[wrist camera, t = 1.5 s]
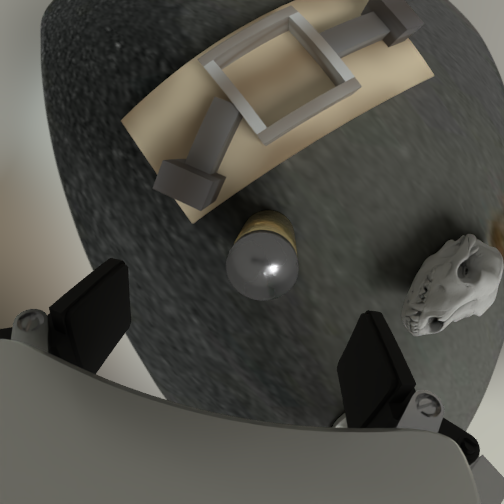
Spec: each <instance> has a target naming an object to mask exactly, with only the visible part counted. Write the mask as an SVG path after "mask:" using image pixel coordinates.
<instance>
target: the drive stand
mask: <svg viewBox="0 0 504 504" xmlns="http://www.w3.org/2000/svg"><path fill="white" fill-rule="evenodd" d="M423 25H424V22H423V21H422V20H421V19H420V17H419V16H418V15H417V14H416V13H415V12H414V10H413V9H412V8H411V7H410V6H409V5H408V4H407V2H406V1H405V0H295V1H292V2H290V3H288V4H285V5H283V6H281V7H279V8H277V9H275V10H273V11H271V12H269V13H267V14H265V15H263V16H261V17H259V18H257V19H255V20H253V21H251V22H250V23H248V24H246V25H244V26H243V27H241V28H239V29H237V30H236V31H234V32H232V33H231V34H229V35H227V36H226V37H224V38H223V39H221V40H220V41H218V42H216V43H215V44H213V45H212V46H210V47H209V48H207V49H206V50H204V51H203V52H202V53H200V54H199V55H197V56H196V57H195V58H193V59H192V60H190V61H189V62H188V63H186V64H185V65H184V66H182V67H181V68H180V69H179V70H177V71H176V72H175V73H173V74H172V75H171V76H170V77H168V78H167V79H166V80H165V81H164V82H162V83H161V84H160V85H159V86H158V87H156V88H155V89H154V90H153V91H152V92H151V93H150V94H148V95H147V96H146V97H145V98H144V99H143V100H142V101H141V102H140V103H139V104H137V105H136V106H135V107H134V108H133V109H132V110H131V111H130V112H129V113H128V114H127V115H126V116H125V117H124V118H123V119H122V120H121V122H122V123H123V125H124V126H125V128H126V129H127V131H128V132H129V134H130V135H131V137H132V138H133V140H134V141H135V143H136V144H137V146H138V147H139V148H140V150H141V151H142V153H143V154H144V156H145V157H146V159H147V160H148V162H149V163H150V165H151V166H152V167H153V169H154V170H155V172H156V173H157V177H156V180H155V183H154V186H153V188H152V189H154V190H157V191H159V192H161V193H163V194H165V195H167V196H169V197H172V198H174V199H175V200H176V202H177V203H178V204H179V206H180V207H181V209H182V210H183V211H184V213H185V214H186V216H187V217H188V218H189V220H190V221H191V222H192V224H193V223H195V222H196V221H197V220H199V219H200V218H201V217H203V216H204V215H206V214H207V213H208V212H210V211H211V210H213V209H214V208H215V207H217V206H218V205H220V204H221V203H222V202H224V201H225V200H227V199H228V198H229V197H231V196H232V195H234V194H235V193H237V192H238V191H240V190H241V189H242V188H244V187H245V186H247V185H248V184H250V183H251V182H253V181H254V180H256V179H257V178H259V177H260V176H262V175H263V174H265V173H266V172H268V171H269V170H271V169H272V168H274V167H275V166H277V165H278V164H280V163H281V162H283V161H285V160H286V159H288V158H289V157H291V156H292V155H294V154H296V153H297V152H299V151H300V150H302V149H303V148H305V147H307V146H308V145H310V144H312V143H313V142H315V141H316V140H318V139H320V138H321V137H323V136H325V135H326V134H328V133H330V132H331V131H333V130H335V129H336V128H338V127H340V126H341V125H343V124H345V123H347V122H348V121H350V120H352V119H354V118H355V117H357V116H359V115H361V114H362V113H364V112H366V111H368V110H369V109H371V108H373V107H375V106H377V105H379V104H380V103H382V102H384V101H386V100H388V99H390V98H392V97H393V96H395V95H397V94H399V93H401V92H403V91H405V90H407V89H409V88H411V87H413V86H415V85H417V84H419V83H421V82H423V81H425V80H427V79H429V78H431V77H433V76H434V74H433V73H432V71H431V69H430V68H429V66H428V65H427V63H426V62H425V60H424V59H423V58H422V56H421V55H420V53H419V52H418V50H417V49H416V48H415V46H414V45H413V44H412V42H411V41H410V40H409V37H410V36H411V35H412V34H413V33H415V32H416V31H417V30H418V29H419V28H420V27H422V26H423Z"/></svg>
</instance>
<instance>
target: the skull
mask: <svg viewBox="0 0 504 504" xmlns="http://www.w3.org/2000/svg"><path fill="white" fill-rule="evenodd" d="M462 262H463V265H461V266H460V264H461V263H462ZM503 268H504V265H503V258H502V255H501V254H500V252H499V251H498V250H497V249H496V248H495V247H490V246H488V245H486V244H485V243H483V242H481V241H480V240H478V239H476V237H475V236H474V235H473V234H467V235H466V237H465V235H463V236H461V237H460V238H459V239H458V240H457V241H454V240H448V241H447V242H446V243H445V244H444V246H443V247H442V248H441V249H440V250H439V251H438V252H437V253H435V254H433V255H431V256H429V257H428V258H427V259H426V260H425V261H424V262H423V264H422V266H421V268H420V270H419V271H418V273H417V274H416V276H415V278H414V280H413V283H412V285H411V287H410V289H409V291H408V293H407V296H406V298H405V301H404V304H403V307H402V313H401V319H402V322H403V324H404V325H405V327H406V328H407V329H408V331H409V332H410V333H412V334H413V336H420V335H424V334H434V333H437V332H440V331H442V330H443V329H444V328H445V327H446V326H447V325H448V324H449V323H451V322H452V321H455V322H456V321H458V320H460V319H462V318H464V317H469V316H471V315H473V314H476V315H478V316H481V315H482V314H483V313H484V312H485V311H486V310H487V309H488V308H489V307H490V306H491V305H492V303H493V302H494V300H495V298H496V295H497V291H498V286H499V283H500V280H501V277H502V272H503ZM425 288H427V290H428V291H427V293H426V294H424V295H423V296H424V297H423V298H421V297H420V296H421V295H422V294H423V293H425V290H424V289H425ZM415 321H416V322H415Z"/></svg>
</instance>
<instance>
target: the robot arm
mask: <svg viewBox="0 0 504 504" xmlns="http://www.w3.org/2000/svg"><path fill="white" fill-rule="evenodd" d="M49 310H50V314H48V315H46V313H45V312H43V311H41V310H38V309H30V310H26V311H23V312H21V313H20V314H19V315H17V317H16V318H15V320H14V323H13V327H11V328H5V329H0V504H501V502H502V501H503V499H504V477H503V476H502V475H501V474H500V473H499V472H498V471H497V470H496V469H495V468H494V466H492V464H491V463H490V462H489V461H488V460H487V459H486V458H485V457H484V456H483V455H482V456H480V457H479V452H480V449H479V444H478V442H477V440H476V439H475V438H474V437H473V436H472V435H470V434H469V433H467V432H465V431H464V430H462V429H461V428H459V427H457V426H456V425H454V424H453V423H451V422H449V421H448V420H446V419H445V418H443V416H444V410H445V409H444V404H443V403H442V401H441V399H440V398H439V397H438V396H437V395H435V394H434V393H432V392H430V391H427V390H419V391H417V392H416V391H415V389H414V387H415V385H416V383H415V380H414V378H413V376H412V374H411V371H410V369H409V367H408V365H407V363H406V361H405V359H404V356H403V354H402V352H401V350H400V348H399V346H398V344H397V342H396V340H395V338H394V336H393V334H392V332H391V330H390V328H389V326H388V324H387V322H386V320H385V319H384V317H383V315H382V313H381V312H376V311H369V310H368V311H366V312H365V313H362V314H361V316H360V318H359V320H358V322H357V324H356V327H355V329H354V331H353V333H352V335H351V338H350V340H349V342H348V344H347V346H346V348H345V350H344V352H343V354H342V356H341V358H340V360H339V362H338V366H337V372H338V377H339V382H340V387H341V393H342V398H343V404H344V409H345V413H344V414H343V415H342V416H341V417H339V418H338V419H337V420H336V422H335V423H334V424H333V426H332V428H331V427H312V426H299V425H289V424H280V423H272V422H265V421H258V420H251V419H245V418H240V417H234V416H229V415H224V414H219V413H214V412H210V411H206V410H201V409H197V408H193V407H189V406H186V405H182V404H178V403H175V402H171V401H168V400H165V399H161V398H158V397H155V396H151V395H149V394H146V393H142V392H140V391H137V390H134V389H131V388H128V387H126V386H123V385H120V384H118V383H115V382H113V381H110V380H108V379H105V378H103V377H100V376H98V375H96V373H97V371H98V370H99V369H100V367H101V366H102V364H103V363H104V361H105V360H106V359H107V357H108V356H109V354H110V353H111V352H112V350H113V349H114V347H115V346H116V345H117V343H118V342H119V341H120V339H121V338H122V336H123V335H124V334H125V332H126V331H127V330H128V328H129V327H130V324H131V312H130V298H129V279H128V267H127V265H125V263H124V261H121V260H117V259H113V258H110V259H108V260H107V261H106V262H104V263H103V264H102V265H100V266H99V267H98V268H97V269H95V270H94V271H93V272H91V273H90V274H89V275H88V276H86V277H85V278H84V279H83V280H81V281H80V282H79V283H78V284H77V285H75V286H74V287H73V288H72V289H70V290H69V291H68V292H67V293H66V294H64V295H63V296H62V297H61V298H60V299H59V300H57V301H56V302H55V303H54V304H53V305H52V306H50V307H49Z"/></svg>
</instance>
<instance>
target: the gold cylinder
mask: <svg viewBox="0 0 504 504" xmlns="http://www.w3.org/2000/svg"><path fill="white" fill-rule="evenodd" d="M298 270H299V266H298V257H297V249H296V242H295V234H294V229H293V226H292V224H291V222H290V221H289V220H288V219H287V218H286V217H285V216H284V215H283V214H281V213H279V212H276V211H272V210H264V211H259V212H257V213H255V214H253V215H252V216H251V217H250V218H249V219H248V220H247V221H246V223H245V225H244V226H243V228H242V230H241V232H240V234H239V235H238V237H237V239H236V241H235V242H234V244H233V246H232V248H231V250H230V251H229V253H228V256H227V260H226V272H227V276H228V279H229V281H230V282H231V284H232V285H233V287H234V288H235V289H236V290H237V291H238V292H239V293H241V294H242V295H244V296H246V297H248V298H251V299H254V300H262V301H265V300H272V299H276V298H278V297H281V296H282V295H284V294H285V293H287V292H288V291H289V290H290V289H291V288H292V286H293V285H294V283H295V281H296V279H297V276H298Z"/></svg>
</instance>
